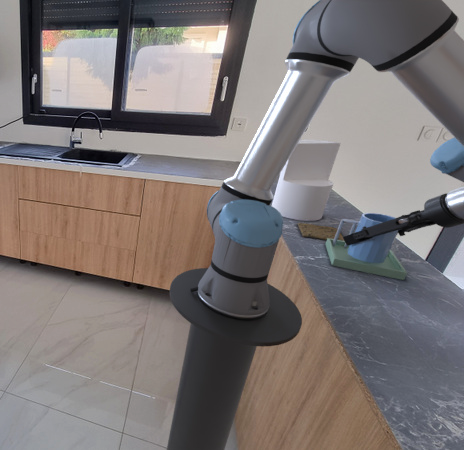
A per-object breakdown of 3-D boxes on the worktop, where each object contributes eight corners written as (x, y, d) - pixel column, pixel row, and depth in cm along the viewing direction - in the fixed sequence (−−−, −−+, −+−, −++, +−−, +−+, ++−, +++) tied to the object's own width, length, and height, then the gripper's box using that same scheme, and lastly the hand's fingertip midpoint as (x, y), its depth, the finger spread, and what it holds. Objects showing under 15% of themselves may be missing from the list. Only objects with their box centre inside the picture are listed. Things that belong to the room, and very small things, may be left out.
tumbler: (350, 258, 89) (365, 220, 84) (345, 247, 95) (359, 211, 90) (388, 266, 85) (406, 226, 80) (380, 253, 91) (397, 216, 86)
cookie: (347, 243, 102) (348, 240, 101) (302, 236, 107) (303, 234, 107) (337, 229, 112) (338, 227, 111) (297, 223, 117) (297, 221, 116)
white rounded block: (262, 205, 136) (279, 140, 124) (303, 205, 135) (323, 139, 123) (286, 220, 120) (308, 147, 108) (332, 220, 119) (360, 147, 108)
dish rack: (331, 265, 90) (344, 233, 86) (325, 244, 102) (335, 215, 98) (403, 280, 83) (421, 246, 79) (387, 255, 94) (402, 225, 90)
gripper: (433, 226, 67) (334, 256, 88) (502, 217, 71) (392, 247, 92) (414, 196, 70) (322, 231, 91) (481, 188, 73) (379, 224, 94)
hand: (357, 239), depth 91 cm, fingers closed on tumbler, 8 cm apart
